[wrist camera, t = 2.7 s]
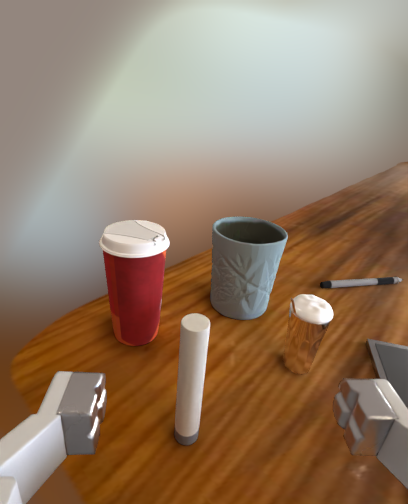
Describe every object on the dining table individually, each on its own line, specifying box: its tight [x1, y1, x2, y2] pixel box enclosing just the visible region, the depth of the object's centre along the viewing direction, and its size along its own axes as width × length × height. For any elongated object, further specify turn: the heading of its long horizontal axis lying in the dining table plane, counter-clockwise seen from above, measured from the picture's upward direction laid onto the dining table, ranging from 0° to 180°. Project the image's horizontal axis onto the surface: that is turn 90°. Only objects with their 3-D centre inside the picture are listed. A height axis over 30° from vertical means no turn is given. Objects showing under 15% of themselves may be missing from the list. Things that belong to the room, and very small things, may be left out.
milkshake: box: [283, 294, 333, 374], centre depth 38 cm, size 4×5×10 cm
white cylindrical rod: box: [174, 313, 210, 445], centre depth 28 cm, size 2×2×13 cm
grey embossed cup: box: [210, 217, 287, 320], centre depth 48 cm, size 10×10×12 cm
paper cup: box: [99, 220, 169, 346], centre depth 40 cm, size 8×8×14 cm
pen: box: [320, 277, 402, 288], centre depth 58 cm, size 1×16×1 cm, turn 104°
